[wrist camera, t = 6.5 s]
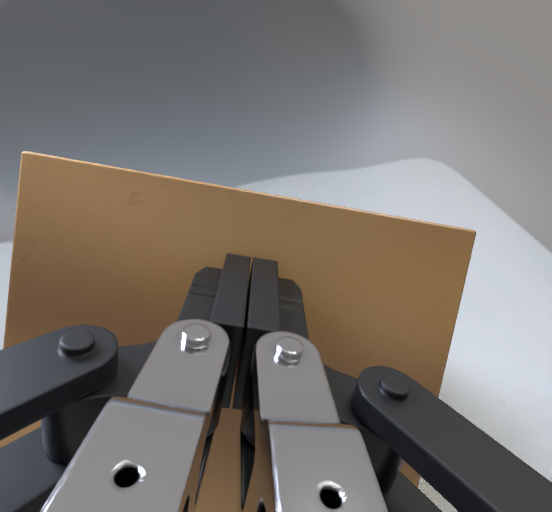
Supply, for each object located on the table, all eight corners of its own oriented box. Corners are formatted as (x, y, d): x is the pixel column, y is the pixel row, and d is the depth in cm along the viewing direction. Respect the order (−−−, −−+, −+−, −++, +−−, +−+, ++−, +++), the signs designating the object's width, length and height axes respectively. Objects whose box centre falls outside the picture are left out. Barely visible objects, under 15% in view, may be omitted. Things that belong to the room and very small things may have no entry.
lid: (34, 153, 11) (20, 150, 11) (465, 229, 13) (477, 230, 12) (0, 502, 13) (-15, 519, 12) (394, 541, 14) (402, 558, 13)
